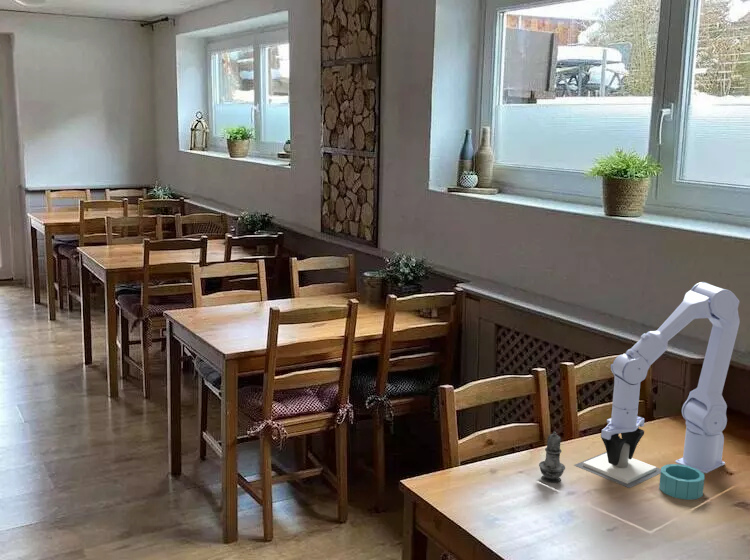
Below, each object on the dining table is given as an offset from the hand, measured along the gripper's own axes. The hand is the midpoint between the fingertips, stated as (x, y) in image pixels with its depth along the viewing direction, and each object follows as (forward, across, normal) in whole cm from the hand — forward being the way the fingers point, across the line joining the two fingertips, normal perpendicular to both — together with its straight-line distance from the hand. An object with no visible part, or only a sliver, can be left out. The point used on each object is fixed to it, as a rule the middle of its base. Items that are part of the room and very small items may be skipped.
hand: (620, 460), depth 188 cm
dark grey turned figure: (+2, +18, -6) cm, 19 cm away
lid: (+2, 0, 0) cm, 2 cm away
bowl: (+2, -1, +15) cm, 15 cm away
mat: (+2, 0, 0) cm, 2 cm away
